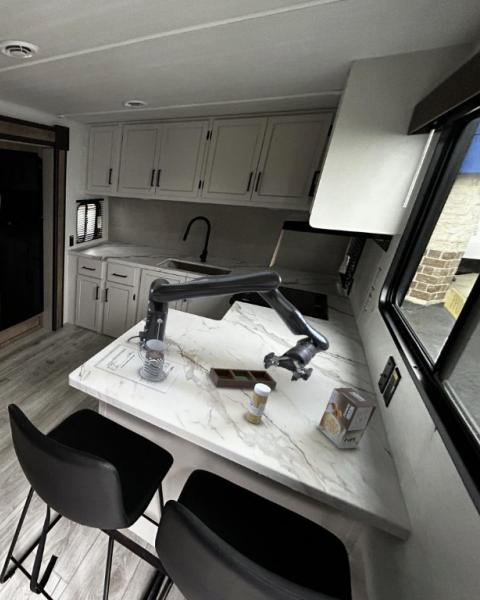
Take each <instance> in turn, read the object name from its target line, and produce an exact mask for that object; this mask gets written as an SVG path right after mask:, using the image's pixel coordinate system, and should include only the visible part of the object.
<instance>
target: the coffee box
mask: <svg viewBox="0 0 480 600" xmlns="http://www.w3.org/2000/svg"><path fill="white" fill-rule="evenodd" d="M376 409H377V405H376V404H374V403H373V402H371V401H370V400H368V399H367V398H366V397H364V396H363V395H361V393H359V392H357V390H355V389H354V388H352V387H337V388H336V387H334V388H333V390H332V391H331V394H330V397H329V400H328V402H327V404H326V407H325V409H324V411H323V413H322V416H321V419H320V421H319V424H318V427H317V428H318V429H319V430H320V431H321V432H322V433H323V434H324V435H325V436H326V437H327V438H329V440H330V441H331V442H332V443H333V444H334V445H336V447H337V448H339V449H357V448H358V447H359V444H360V442H361V440H362V438H363V436H364V434H365V432H366V429H368V428H367V427H368V425H369V423H370V421H371V419H372V417H373V416H374V414H375V411H376Z"/></svg>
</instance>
